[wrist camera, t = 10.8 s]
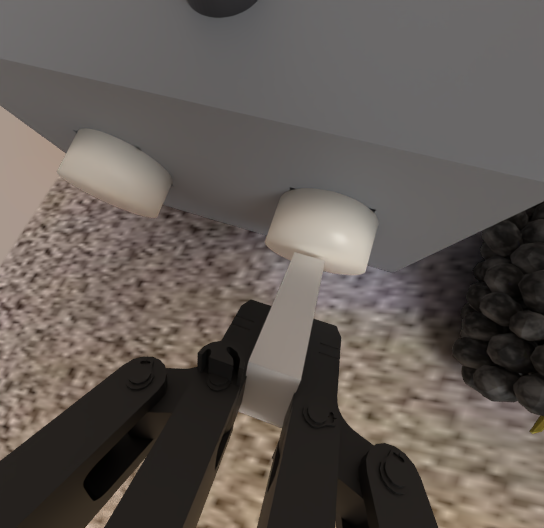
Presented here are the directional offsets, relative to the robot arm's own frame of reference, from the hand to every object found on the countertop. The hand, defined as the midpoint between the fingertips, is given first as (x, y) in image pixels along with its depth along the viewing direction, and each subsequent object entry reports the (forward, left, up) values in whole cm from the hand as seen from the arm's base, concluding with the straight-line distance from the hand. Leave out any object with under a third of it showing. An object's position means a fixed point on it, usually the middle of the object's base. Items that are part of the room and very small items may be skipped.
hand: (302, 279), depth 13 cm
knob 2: (0, -5, -3) cm, 6 cm away
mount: (+6, -8, -7) cm, 12 cm away
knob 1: (+12, -5, -3) cm, 13 cm away
